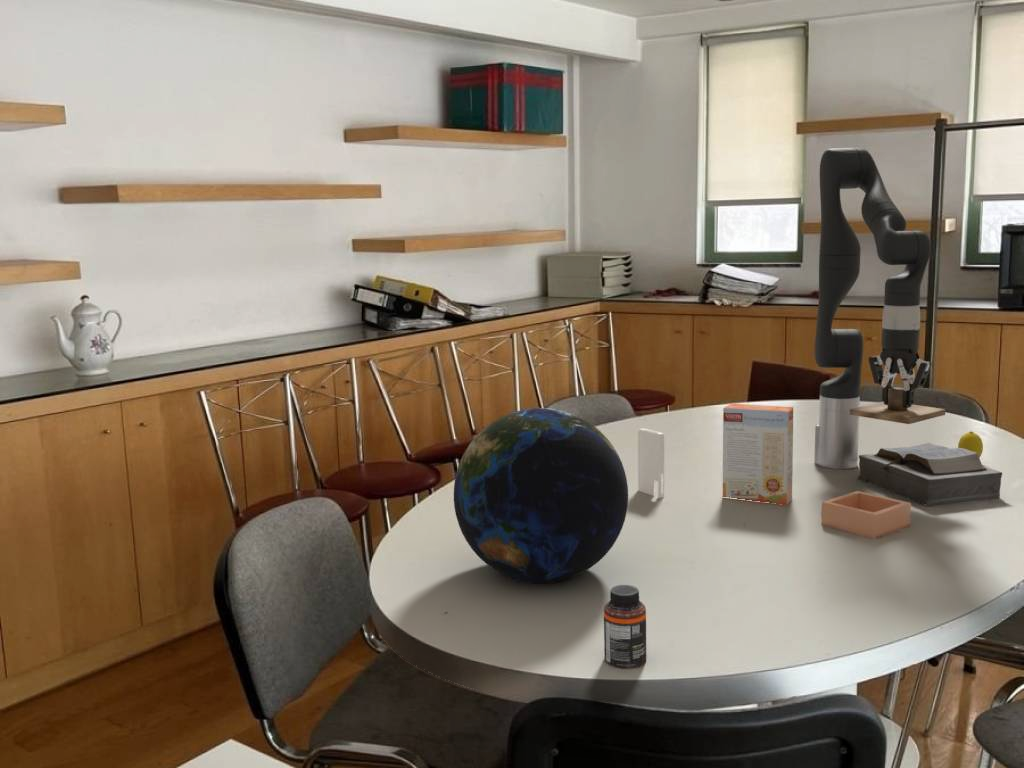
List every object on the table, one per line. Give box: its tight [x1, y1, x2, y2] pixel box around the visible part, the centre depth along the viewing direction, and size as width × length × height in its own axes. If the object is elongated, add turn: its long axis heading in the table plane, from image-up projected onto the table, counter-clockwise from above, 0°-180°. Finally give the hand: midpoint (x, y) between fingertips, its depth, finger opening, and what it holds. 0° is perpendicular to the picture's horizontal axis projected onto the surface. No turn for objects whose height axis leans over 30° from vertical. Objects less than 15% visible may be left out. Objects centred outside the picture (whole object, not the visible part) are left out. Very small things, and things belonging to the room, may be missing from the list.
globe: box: [453, 407, 629, 584], centre depth 182 cm, size 30×30×30 cm
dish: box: [821, 490, 912, 540], centre depth 208 cm, size 12×12×5 cm
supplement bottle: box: [603, 584, 647, 670], centre depth 148 cm, size 6×6×11 cm
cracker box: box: [722, 403, 794, 506], centre depth 226 cm, size 14×6×21 cm, turn 64°
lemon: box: [957, 430, 984, 458], centre depth 255 cm, size 6×6×8 cm
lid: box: [850, 386, 946, 425], centre depth 225 cm, size 14×14×6 cm
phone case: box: [637, 428, 665, 499], centre depth 231 cm, size 7×1×15 cm, turn 33°
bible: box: [857, 442, 1003, 508], centre depth 233 cm, size 23×27×10 cm
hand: (897, 405), depth 225 cm, fingers closed on lid, 4 cm apart
